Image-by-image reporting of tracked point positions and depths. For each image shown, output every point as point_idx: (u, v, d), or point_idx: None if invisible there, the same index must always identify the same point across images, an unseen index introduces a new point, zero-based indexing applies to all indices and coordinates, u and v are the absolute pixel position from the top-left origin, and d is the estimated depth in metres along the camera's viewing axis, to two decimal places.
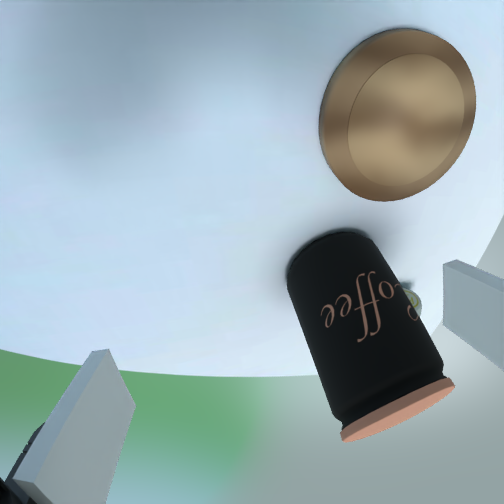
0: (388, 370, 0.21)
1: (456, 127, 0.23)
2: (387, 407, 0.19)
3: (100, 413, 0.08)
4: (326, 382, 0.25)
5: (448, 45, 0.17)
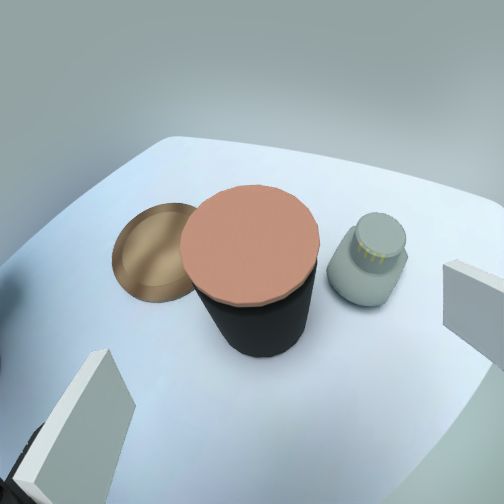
0: None
1: (179, 216, 0.47)
2: None
3: (100, 413, 0.08)
4: (225, 321, 0.26)
5: (130, 222, 0.48)
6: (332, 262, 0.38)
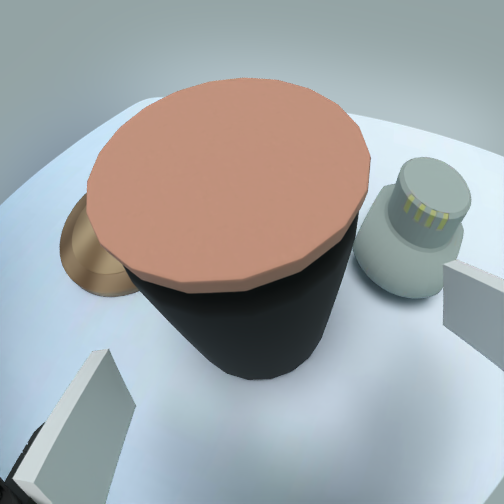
0: None
1: None
2: None
3: (100, 413, 0.08)
4: (181, 326, 0.13)
5: None
6: (362, 233, 0.24)
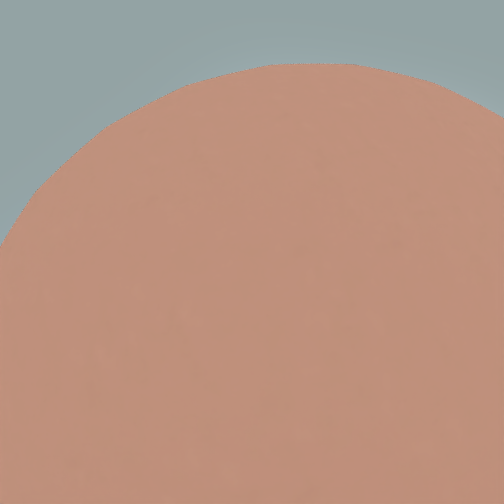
0: None
1: None
2: None
3: None
4: None
5: None
6: None
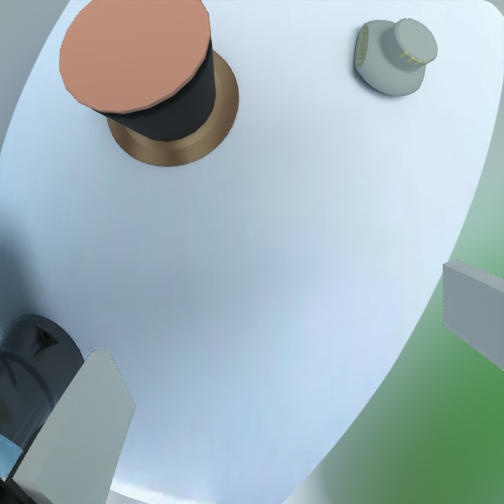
0: None
1: None
2: None
3: (100, 413, 0.08)
4: (140, 125, 0.22)
5: None
6: (367, 63, 0.31)
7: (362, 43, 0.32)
